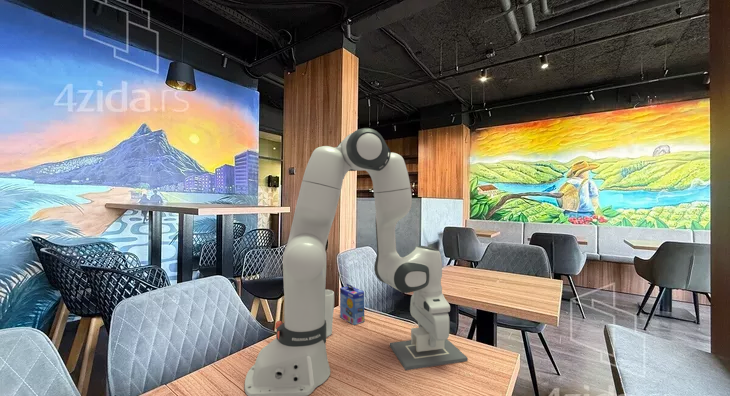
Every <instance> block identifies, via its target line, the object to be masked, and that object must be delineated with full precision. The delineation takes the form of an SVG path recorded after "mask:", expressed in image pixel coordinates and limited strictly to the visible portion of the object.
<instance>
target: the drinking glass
mask: <svg viewBox="0 0 730 396" xmlns="http://www.w3.org/2000/svg"><path fill="white" fill-rule="evenodd" d="M334 309H335V292H334V291H333V290H332V289H325V320H326V325H327V337H330V336H332V333H333V321H334Z"/></svg>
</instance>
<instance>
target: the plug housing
mask: <svg viewBox="0 0 730 396" xmlns="http://www.w3.org/2000/svg"><path fill="white" fill-rule="evenodd" d="M410 330H411V331H410V332H411V333H410V338H411V339H410V340H411V344H412V345H416V351H417V352H421V351H428V350H436V349H443V348H444V340H443V341H437V340H436V346H435V347H430V346H429V344H428V343H429V342H428V340H429V339H430V337H431V336H430V333H429V332H428V331H427V330H426V329H425V328H424V327H411V329H410Z"/></svg>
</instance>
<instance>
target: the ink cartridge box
mask: <svg viewBox="0 0 730 396" xmlns="http://www.w3.org/2000/svg"><path fill="white" fill-rule="evenodd" d="M345 284H346V286H342V287H340V288H339V304H340V305H339V311H340V312H339V313H340V314H339V315H340V318H342V319H343V320H345V321H346V322H348V323H349V324H351V325H353V326H356V325H358V324H361V323H364V322H365V290H362V289H360V288H356V287H355V286H353V285H351V284H350V283H345Z"/></svg>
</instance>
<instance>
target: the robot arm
mask: <svg viewBox="0 0 730 396" xmlns="http://www.w3.org/2000/svg"><path fill="white" fill-rule="evenodd" d="M407 168H408V167H407V165H406V162H405V159H404V158H403V156H402V155H400V154H398V153H396V152H393V151H392V152H391V149H390V147H389V146H388V145H387V143H386V141H385V139H384V138H383V136H382V135H381V133H380V132H378V131H377V130H375V129H373V128H369V127H363V128H359V129H356V130H355V131H353V132H351V133H349V134H347V136H346V137H345V138H344V139H343V140H341V141H340V142H339V144H338V145H337V146H335V147H333V146H329V145H323V146H319V147H317V148H315V149H314V150H313V151H312V153H311V155H310V157H309V160H308V162H307V164H306V167H305V170H304V173H303V176H302V181H301V183H300V184H301V185H300V188H299V193H298V197H297V201H296V205H295V210H294V212H293V213H294V214H293V218H292V223H291V227H290V231H289V235H288V240H287V244H286V246H285V249H284V251H283V254H282V274H283V275H282V277H283V280H282V281H283V293H284V295H283V297H284V299H283V300H284V305H283V308H284V309H283V311H284V312H283V313H284V314H283V315H284V317H283V318H284V319H283V321H282V320H278V321H276V323H275V327H274V328H275V330H276V331H275V332H276V334H275V335H276V338H274V339H273V340H271V341H270V342H269V343H268V344H267V345H265V346H264V347H262V349H261V350H260V351H259V353H258V354H257V357H256V360H255V362H254V364H253V365H252V366H251V367H250V368H249V370H248V371H247V373H246V376H245V379H244V387H243V388H244V392H245V394H246V395H247V396H310V395H311V394H312V393H313V392H314V391H315V389H316V388H317V387H319V386H321V385H322V384H324V383H325V382H326V381H327V380H328V379H329V377H330V375H331V367H330V364H329V360H328V354H327V346H326V343H327V325H326V320H325V290H326V286H327V285H326V284H327V283H326V282H327V281H326V279H327V278H326V277H327V252H326V247H327V246H326V245H327V242H328V240H329V239H328V238H329V235H330V232H331V228H332V226H333V221H334V219H335V216H336V213H337V209H338V204H339V201H340V200H339V199H340V196H341V191H342V187H343V182H344V179H345V176H346V175H347V173H348V172H356V171H360V172H361V171H366V172H367V174H368V175H369V176H370V178H371V181H372V188H373V189H372V190H373V197H374V205H375V206H374V207H375V237H376V239H375V240H376V257H375V262H374V268H373V269H374V275H375V277H376V278H377V279H378V281H380V282H381V283H384V284H386V285H388V286H390V287H392V288H393V289H395V290H397V291H398V292H401V293H404V294H408V293H409V294H410V293H413V294H412V295H411V297H410V305H409V311H410V315H411V317H412V318H414V319H415V321H417V326H418V327H417V328H419V327H424V328H425V329H426V330H427V331H428V332H429V333H430V336H431V337H430V339H429V340H428V342H429V343H428V344H429V346H430V347H435V346H436V340H437V341H443V340H447V339H448V340H449V337H450V316H449V315H450V314H449V313H450V311H451V305H450V304H449V302H448V300H447V299H446V298H445V296H444V294H443V287H442V277H443V261H442V255H441V252H440V250H439V249H437V248H435V247H430V246H426V245H417V246H415V248H414V249H413V250H412V251H411V252H410V253H408V254H407V255H405V256H400V254H399V253H398V251H397V244H396V243H397V242H396V241H397V239H396V226H397V224H398V223H399V221H400V220H401V219H403V218H404V217H406V216H407V215H408V213H409V212H410V210H411V208H412V201H413V199H412V198H413V197H412V188H411V181H410V176H409V171H408V169H407Z"/></svg>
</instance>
